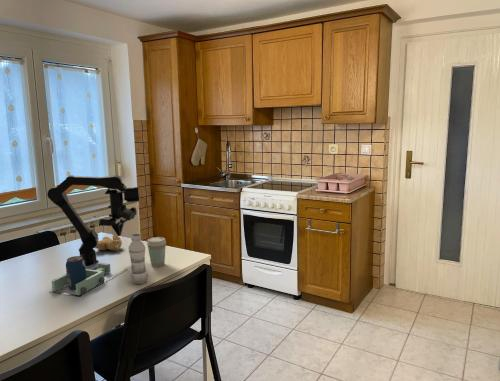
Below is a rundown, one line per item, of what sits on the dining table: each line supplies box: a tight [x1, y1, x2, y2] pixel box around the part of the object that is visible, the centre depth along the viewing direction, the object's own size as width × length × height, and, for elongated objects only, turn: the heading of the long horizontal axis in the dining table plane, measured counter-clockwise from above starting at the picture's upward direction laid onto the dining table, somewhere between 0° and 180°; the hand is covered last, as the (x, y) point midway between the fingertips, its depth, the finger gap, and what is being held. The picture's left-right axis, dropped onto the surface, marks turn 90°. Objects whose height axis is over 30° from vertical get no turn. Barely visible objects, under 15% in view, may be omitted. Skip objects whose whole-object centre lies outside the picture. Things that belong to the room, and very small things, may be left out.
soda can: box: [65, 255, 87, 291], centre depth 154 cm, size 7×7×12 cm
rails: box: [49, 266, 128, 298], centre depth 162 cm, size 15×29×1 cm, turn 161°
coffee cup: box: [146, 236, 167, 268], centre depth 177 cm, size 8×8×12 cm
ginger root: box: [94, 233, 123, 252], centre depth 201 cm, size 16×16×8 cm
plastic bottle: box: [128, 233, 148, 285], centre depth 157 cm, size 6×7×20 cm
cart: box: [51, 262, 112, 295], centre depth 160 cm, size 15×23×4 cm, turn 161°
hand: (119, 235), depth 183 cm, fingers closed
